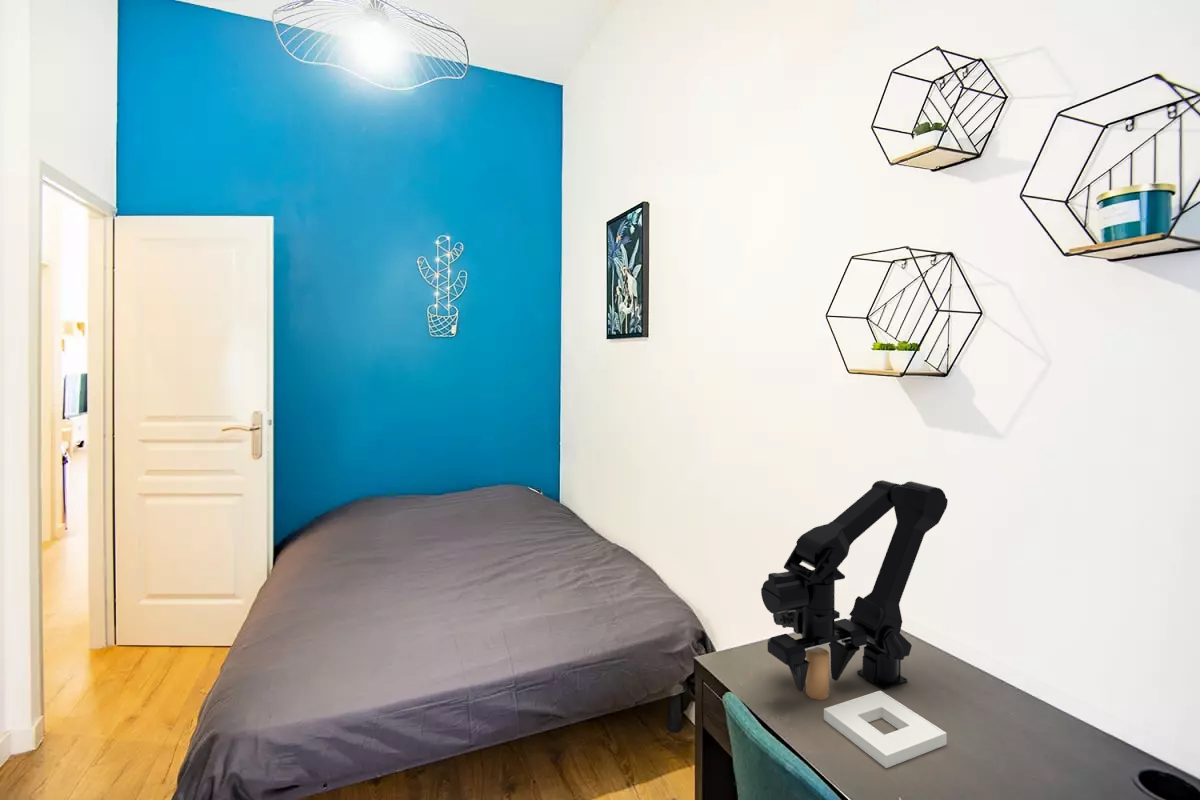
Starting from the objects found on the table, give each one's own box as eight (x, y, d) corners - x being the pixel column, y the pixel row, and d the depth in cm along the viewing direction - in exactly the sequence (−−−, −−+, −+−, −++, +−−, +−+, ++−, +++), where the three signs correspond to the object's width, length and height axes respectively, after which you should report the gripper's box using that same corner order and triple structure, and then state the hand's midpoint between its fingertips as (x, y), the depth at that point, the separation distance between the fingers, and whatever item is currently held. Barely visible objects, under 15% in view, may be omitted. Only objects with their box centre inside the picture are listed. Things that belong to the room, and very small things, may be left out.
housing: (880, 701, 106) (880, 690, 106) (946, 744, 94) (946, 732, 94) (823, 719, 101) (823, 708, 101) (886, 768, 89) (886, 755, 89)
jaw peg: (818, 685, 112) (818, 645, 111) (833, 696, 108) (833, 654, 107) (801, 690, 110) (801, 649, 109) (816, 702, 106) (816, 659, 106)
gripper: (825, 579, 118) (824, 653, 120) (748, 596, 111) (749, 674, 113) (869, 600, 108) (868, 681, 109) (788, 620, 101) (788, 706, 102)
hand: (817, 684), depth 109 cm, fingers open, 8 cm apart
